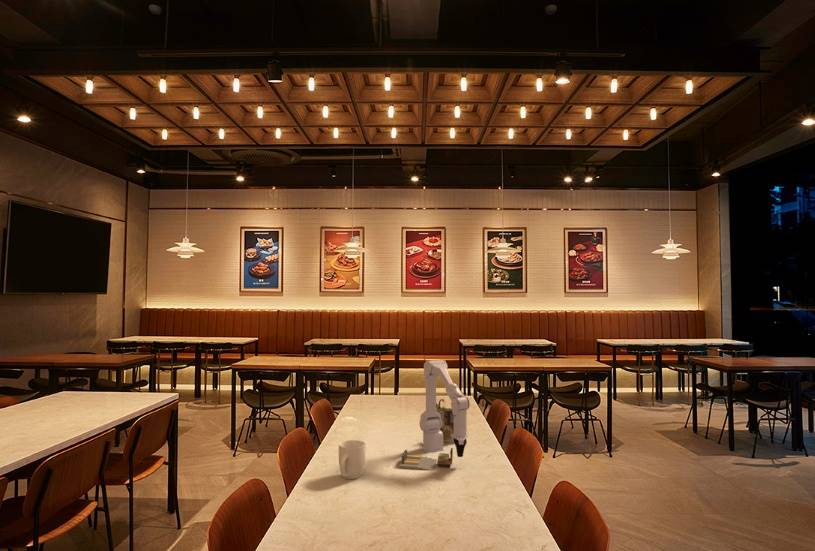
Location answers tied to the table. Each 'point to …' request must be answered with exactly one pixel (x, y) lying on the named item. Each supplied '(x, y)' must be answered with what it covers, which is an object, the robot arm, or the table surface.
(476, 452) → the table surface
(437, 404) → the plant
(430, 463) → the dock
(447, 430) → the coffee box
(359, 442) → the mug
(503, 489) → the table surface
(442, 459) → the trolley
